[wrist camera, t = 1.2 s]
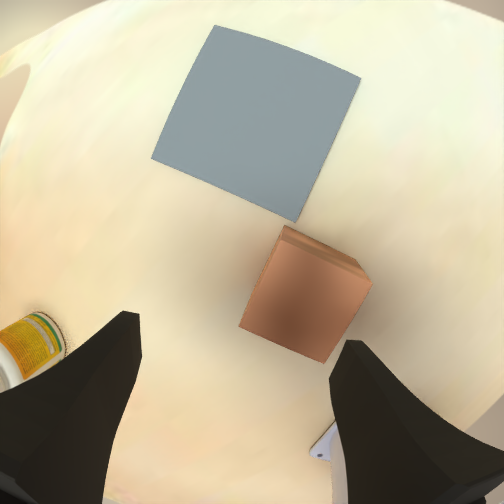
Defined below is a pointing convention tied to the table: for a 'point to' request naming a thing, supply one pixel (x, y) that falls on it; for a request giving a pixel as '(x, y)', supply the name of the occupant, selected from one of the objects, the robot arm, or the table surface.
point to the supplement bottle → (28, 349)
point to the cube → (305, 296)
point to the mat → (256, 119)
